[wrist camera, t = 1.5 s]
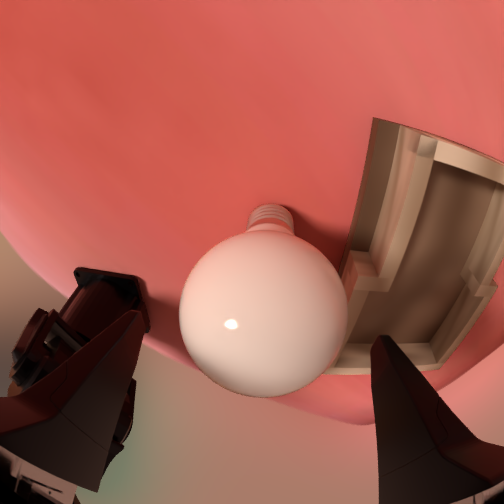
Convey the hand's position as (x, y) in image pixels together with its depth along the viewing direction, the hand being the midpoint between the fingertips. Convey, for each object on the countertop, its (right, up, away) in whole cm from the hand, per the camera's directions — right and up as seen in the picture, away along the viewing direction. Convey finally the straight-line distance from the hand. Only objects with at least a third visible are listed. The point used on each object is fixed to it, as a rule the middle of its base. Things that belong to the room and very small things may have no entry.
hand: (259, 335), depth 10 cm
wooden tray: (+12, +2, +8) cm, 14 cm away
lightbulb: (+1, +5, +7) cm, 9 cm away
